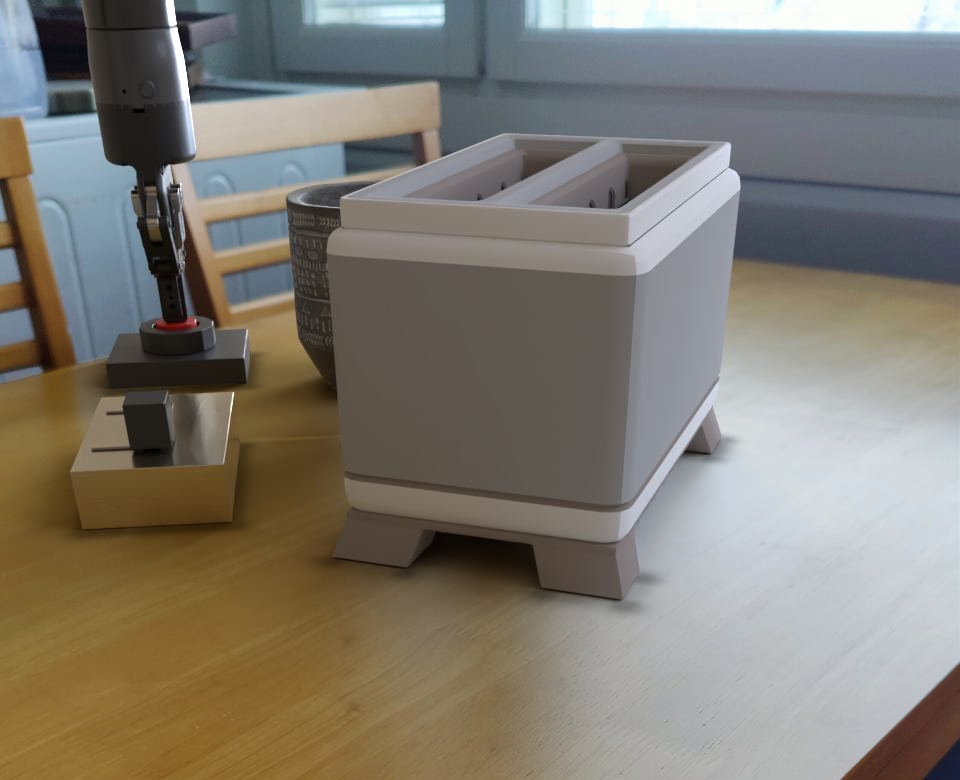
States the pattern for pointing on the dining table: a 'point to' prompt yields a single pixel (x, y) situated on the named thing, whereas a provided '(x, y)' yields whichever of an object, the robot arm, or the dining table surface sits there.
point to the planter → (315, 266)
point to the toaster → (530, 345)
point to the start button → (176, 325)
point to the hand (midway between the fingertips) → (176, 320)
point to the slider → (149, 419)
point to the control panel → (159, 467)
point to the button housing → (179, 356)
